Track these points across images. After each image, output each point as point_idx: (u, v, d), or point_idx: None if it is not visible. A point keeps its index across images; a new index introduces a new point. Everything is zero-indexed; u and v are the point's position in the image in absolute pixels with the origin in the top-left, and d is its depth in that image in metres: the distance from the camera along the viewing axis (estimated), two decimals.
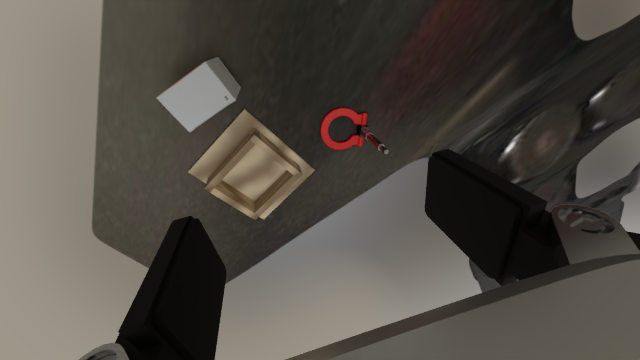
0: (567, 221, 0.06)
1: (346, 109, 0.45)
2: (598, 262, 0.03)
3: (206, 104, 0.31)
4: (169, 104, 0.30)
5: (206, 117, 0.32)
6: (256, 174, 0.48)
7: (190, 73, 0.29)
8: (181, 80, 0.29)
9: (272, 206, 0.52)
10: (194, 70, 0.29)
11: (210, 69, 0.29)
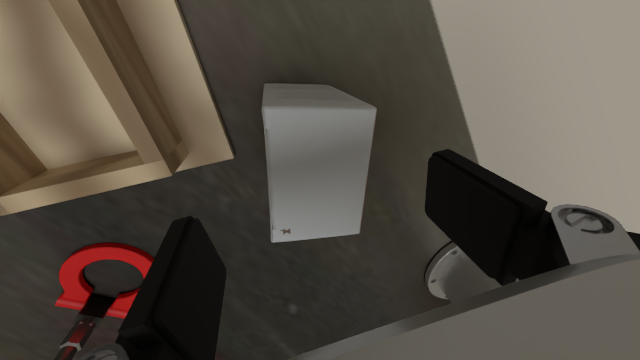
0: (567, 221, 0.06)
1: None
2: (598, 262, 0.03)
3: (298, 192, 0.13)
4: (348, 123, 0.12)
5: (274, 171, 0.12)
6: (44, 78, 0.16)
7: (362, 202, 0.14)
8: (365, 181, 0.13)
9: None
10: (361, 211, 0.14)
11: (344, 234, 0.15)
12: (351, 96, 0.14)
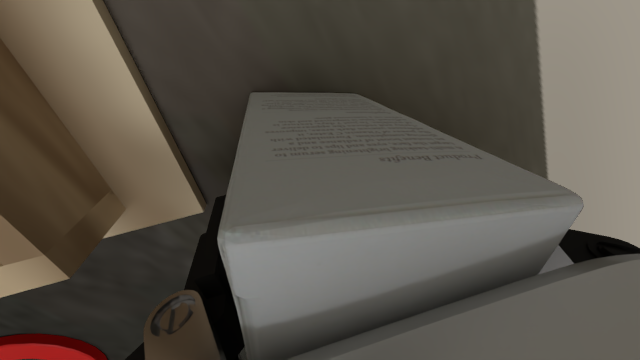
0: None
1: None
2: (598, 262, 0.03)
3: None
4: (499, 249, 0.04)
5: None
6: None
7: None
8: None
9: None
10: None
11: None
12: (438, 132, 0.07)
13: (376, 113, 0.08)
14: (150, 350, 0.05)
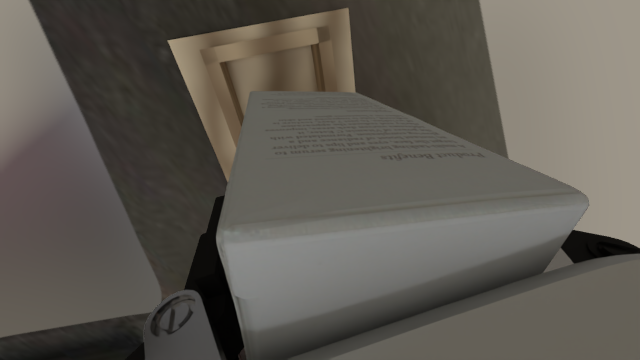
0: None
1: None
2: (598, 262, 0.03)
3: None
4: (503, 248, 0.04)
5: None
6: None
7: None
8: None
9: (193, 81, 0.25)
10: None
11: None
12: (439, 130, 0.06)
13: (377, 111, 0.08)
14: (150, 350, 0.05)
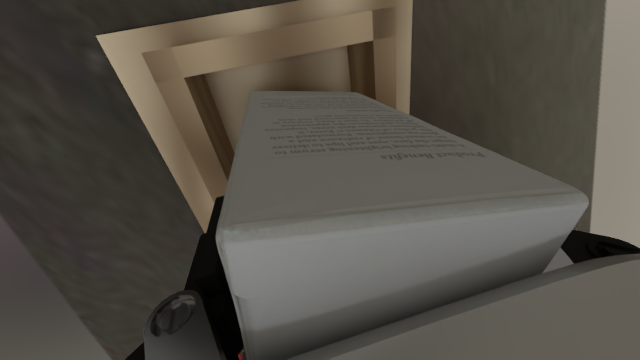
0: None
1: None
2: (598, 262, 0.03)
3: None
4: (503, 248, 0.04)
5: None
6: None
7: None
8: None
9: (149, 105, 0.15)
10: None
11: None
12: (439, 130, 0.06)
13: (377, 111, 0.08)
14: (150, 350, 0.05)
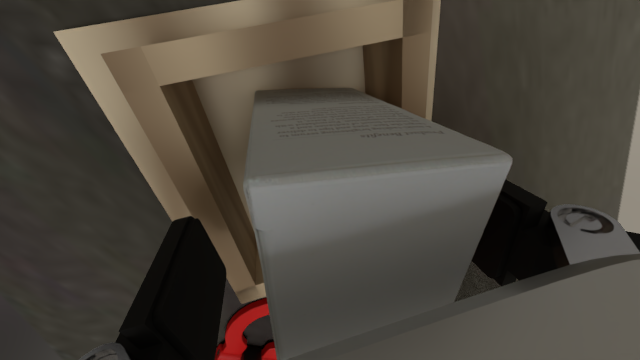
0: (566, 221, 0.06)
1: None
2: (598, 262, 0.03)
3: (331, 325, 0.06)
4: (448, 196, 0.05)
5: (280, 300, 0.05)
6: None
7: None
8: (458, 287, 0.07)
9: (125, 116, 0.12)
10: None
11: None
12: (415, 115, 0.08)
13: (365, 103, 0.09)
14: None
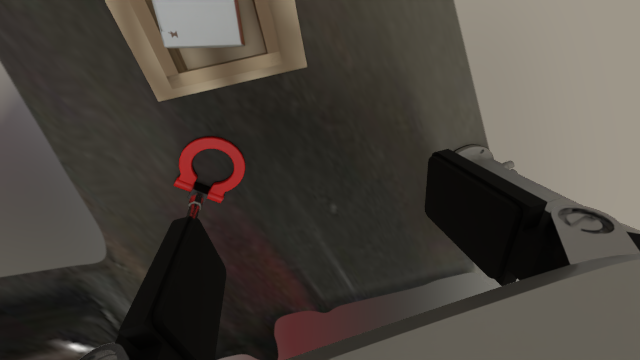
0: (567, 221, 0.06)
1: (238, 181, 0.35)
2: (598, 262, 0.03)
3: None
4: None
5: None
6: None
7: (234, 8, 0.17)
8: None
9: None
10: (235, 18, 0.18)
11: (228, 44, 0.18)
12: None
13: None
14: None
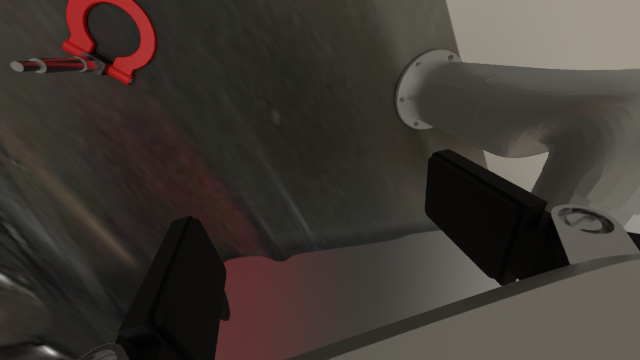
0: (567, 221, 0.06)
1: (148, 57, 0.30)
2: (598, 262, 0.03)
3: None
4: None
5: None
6: None
7: None
8: None
9: None
10: None
11: None
12: None
13: None
14: None
